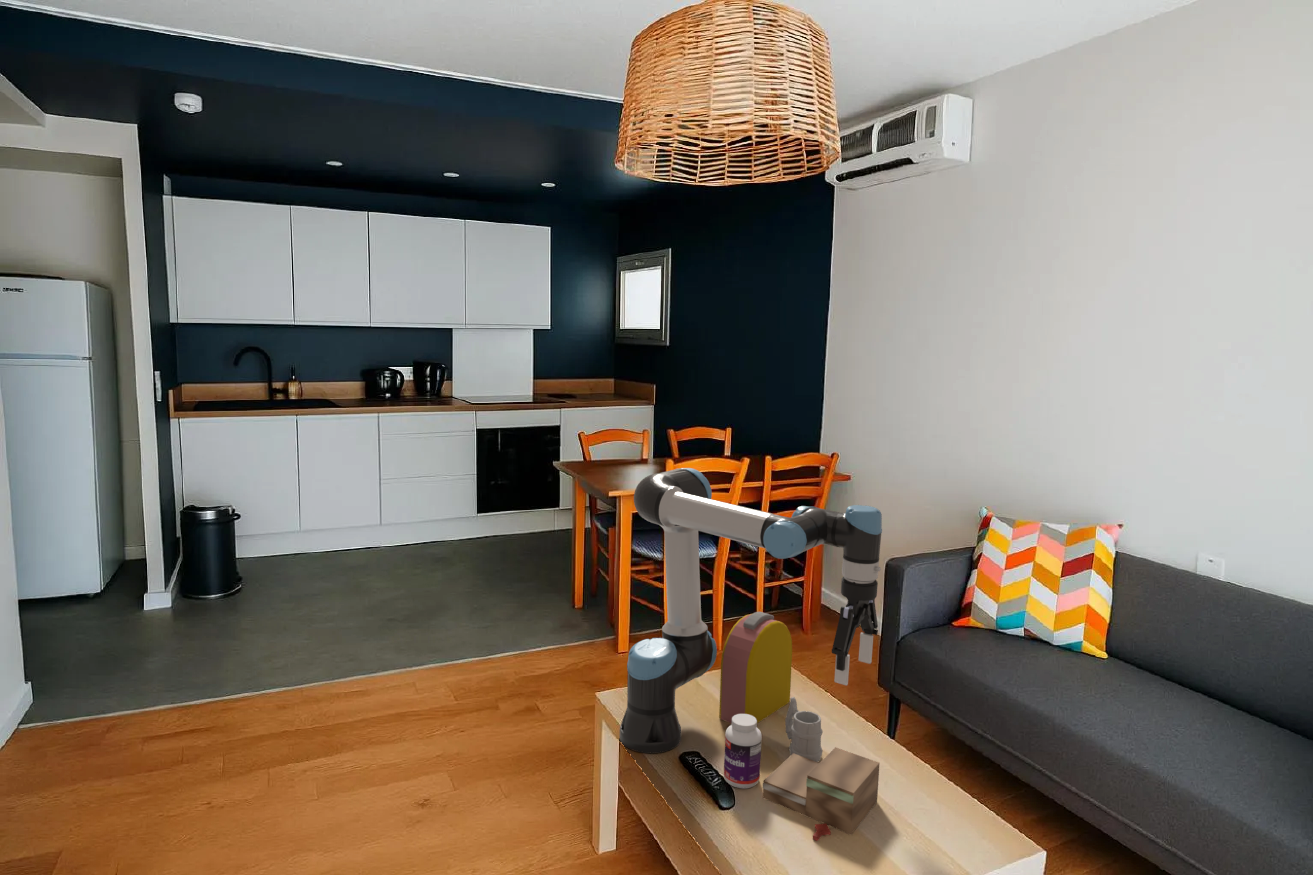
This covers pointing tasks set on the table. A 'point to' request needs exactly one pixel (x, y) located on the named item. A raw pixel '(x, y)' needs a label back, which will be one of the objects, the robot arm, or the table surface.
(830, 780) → the step stand
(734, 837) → the table surface
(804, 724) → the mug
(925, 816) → the table surface
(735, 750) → the pill bottle
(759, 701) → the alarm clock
